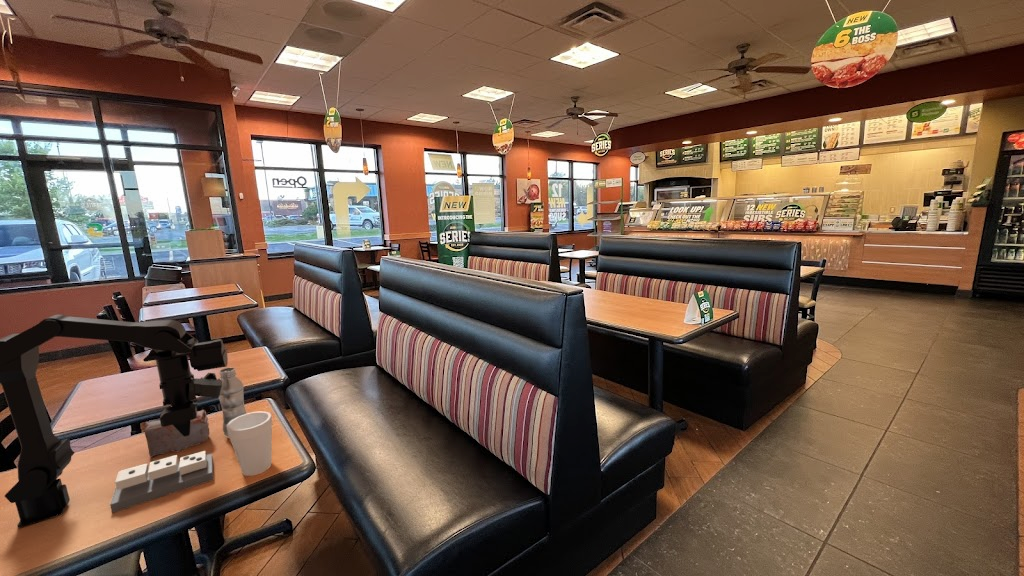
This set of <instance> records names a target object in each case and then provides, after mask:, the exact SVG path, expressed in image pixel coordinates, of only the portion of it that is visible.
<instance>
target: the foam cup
mask: <svg viewBox="0 0 1024 576" xmlns="http://www.w3.org/2000/svg"><path fill="white" fill-rule="evenodd" d="M226 426H227V432H228V437H227V438H228V439H230V443H231V444H232V447H233V451H234V453H235V456H236V459H237V462H238V465H239V467H240V469H241V473H242V475H244V476H247V477H250V476H252V477H253V476H256V475H260V474H262V473H264V472H266V471H267V470H268V469H269V468H271V465H272V458H273V457H272V453H273V452H272V450H273V449H272V446H273V445H272V444H273V443H272V441H273V436H272V435H273V433H272V432H273V417H272V414H271V413H270V412H268V411H264V410H263V411H261V410H260V411H252V412H246V414H244V415H241V416H238V417H236V418H235V419H233V420H231V421H230V422H229V423H228V424H227V425H226Z"/></svg>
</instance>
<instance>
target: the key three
mask: <svg viewBox="0 0 1024 576" xmlns="http://www.w3.org/2000/svg"><path fill="white" fill-rule="evenodd" d="M206 453H207V452H206V450H203V451H198V452H195V453H193V454H188V455H185V456H181V457H180V459H179V463H180V465H179V469H180V474H181V475H183V474H186V473H189V472H193V471H196V470H199V469H202V468H206V467H207V457H206V455H207V454H206Z"/></svg>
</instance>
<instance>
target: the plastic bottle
mask: <svg viewBox="0 0 1024 576" xmlns="http://www.w3.org/2000/svg"><path fill="white" fill-rule="evenodd" d="M236 375H237V373H236V368H235V367H224V368H221V369H219V379H220V380H222V388H221V392H220V395H219V397H218V398H217V399H218V400H219V403H220V407H221V411H222V431H223V434H224V436H226V437H227V438H229V437H228V432H227V426H226V425H227V424H228V423H229V422H230V421H231V420H233V419H235V418H236V417H238V416H241V415H244V414H247V411H246V407H245V399H244V398H245V397H244V388H245V387H244V383H243V382H242V380H240V378H238V377H237V376H236Z"/></svg>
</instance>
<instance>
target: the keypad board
mask: <svg viewBox="0 0 1024 576" xmlns="http://www.w3.org/2000/svg"><path fill="white" fill-rule="evenodd" d="M206 457H207V467H206V468H202V469H199V470H196V471H193V472H189V473H186V474H183V475H181V474H180V469H179V465H180V462H178V470H177V472H176V473H173V474H170V475H166V476H163V477H160V478H156V479H153V480H150V481H149V476H148V478H147V481H146V482H143V483H140V484H136V485H133V486H130V487H127V488H123V489H120V490H117V488H116V487H115V489H114V492H113V495H112V498H111V501H110V504H109V505H110V509H111V513H112V514H114V513H116V512H119V511H123V510H125V509H128V508H130V507H131V508H132V507H134V506H137V505H140V504H143V503H146V502H149V501H153V500H155V499H158V498H161V497H165V496H168V495H171V494H174V493H178V492H181V491H183V490H186V489H190V488H193V487H196V486H199V485H201V484H202V485H203V484H205V483H209V482H211V481H214V458H213V453H208V454H206Z"/></svg>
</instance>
